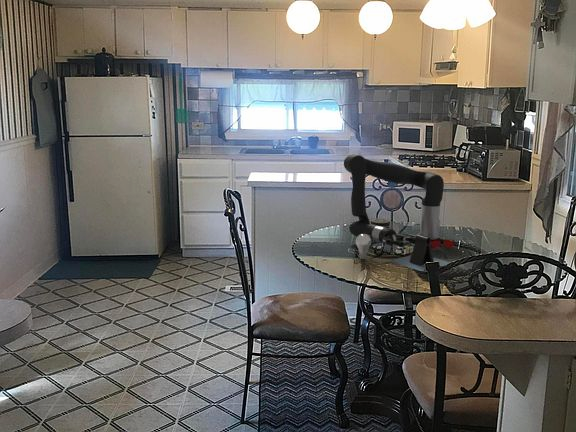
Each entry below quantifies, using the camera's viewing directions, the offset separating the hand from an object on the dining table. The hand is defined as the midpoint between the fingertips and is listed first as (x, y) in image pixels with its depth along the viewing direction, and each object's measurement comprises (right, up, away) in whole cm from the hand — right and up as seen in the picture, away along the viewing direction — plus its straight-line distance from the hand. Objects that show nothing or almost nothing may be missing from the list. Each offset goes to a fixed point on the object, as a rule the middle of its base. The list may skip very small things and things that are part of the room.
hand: (409, 243), depth 269 cm
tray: (+5, -9, -5) cm, 11 cm away
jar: (-7, +2, +42) cm, 43 cm away
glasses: (+21, -6, +12) cm, 25 cm away
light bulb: (-21, -8, 0) cm, 22 cm away
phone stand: (+4, -8, -5) cm, 11 cm away
